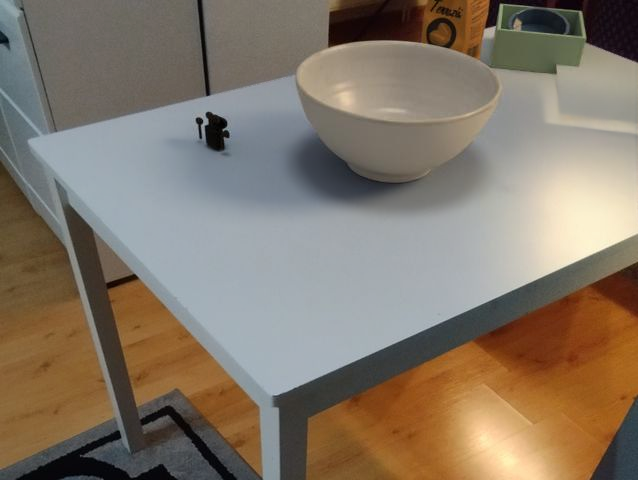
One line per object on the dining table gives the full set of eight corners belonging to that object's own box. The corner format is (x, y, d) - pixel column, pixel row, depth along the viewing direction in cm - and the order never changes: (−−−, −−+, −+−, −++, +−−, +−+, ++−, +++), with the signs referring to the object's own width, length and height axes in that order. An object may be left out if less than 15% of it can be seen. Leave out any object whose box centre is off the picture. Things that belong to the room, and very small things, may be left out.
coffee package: (406, 76, 120) (422, -68, 105) (436, 55, 128) (455, -82, 113) (458, 89, 116) (483, -58, 101) (486, 66, 124) (512, -73, 109)
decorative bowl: (277, 128, 104) (276, 46, 95) (441, 113, 109) (453, 34, 101) (322, 223, 85) (324, 131, 77) (517, 199, 90) (540, 110, 82)
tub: (572, 46, 133) (581, 11, 128) (576, 76, 122) (586, 38, 117) (493, 38, 135) (500, 3, 130) (490, 67, 124) (497, 29, 120)
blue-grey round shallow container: (565, 27, 130) (570, 10, 127) (563, 63, 125) (568, 46, 122) (507, 22, 132) (510, 4, 129) (502, 57, 126) (506, 40, 123)
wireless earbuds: (195, 141, 100) (191, 107, 97) (208, 135, 102) (205, 102, 98) (227, 157, 97) (224, 123, 93) (240, 151, 98) (238, 117, 95)
